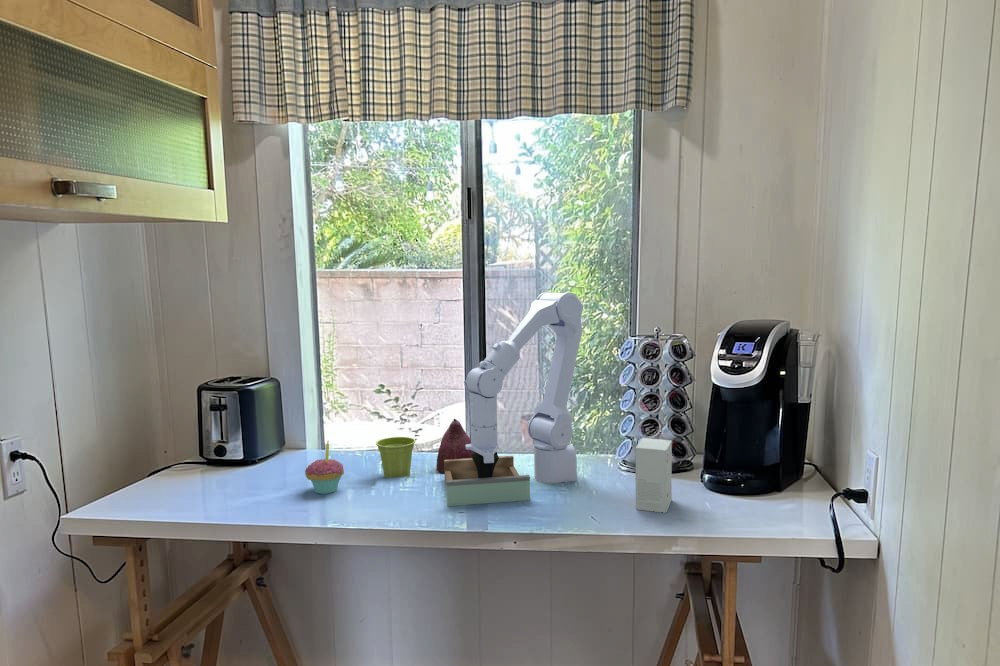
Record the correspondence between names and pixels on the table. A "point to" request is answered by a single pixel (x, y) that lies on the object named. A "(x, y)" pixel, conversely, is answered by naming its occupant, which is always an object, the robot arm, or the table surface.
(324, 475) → the cupcake
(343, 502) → the table surface
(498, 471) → the cart bed
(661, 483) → the small box
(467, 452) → the vegetable
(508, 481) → the green board
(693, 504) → the table surface
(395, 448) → the plant pot
